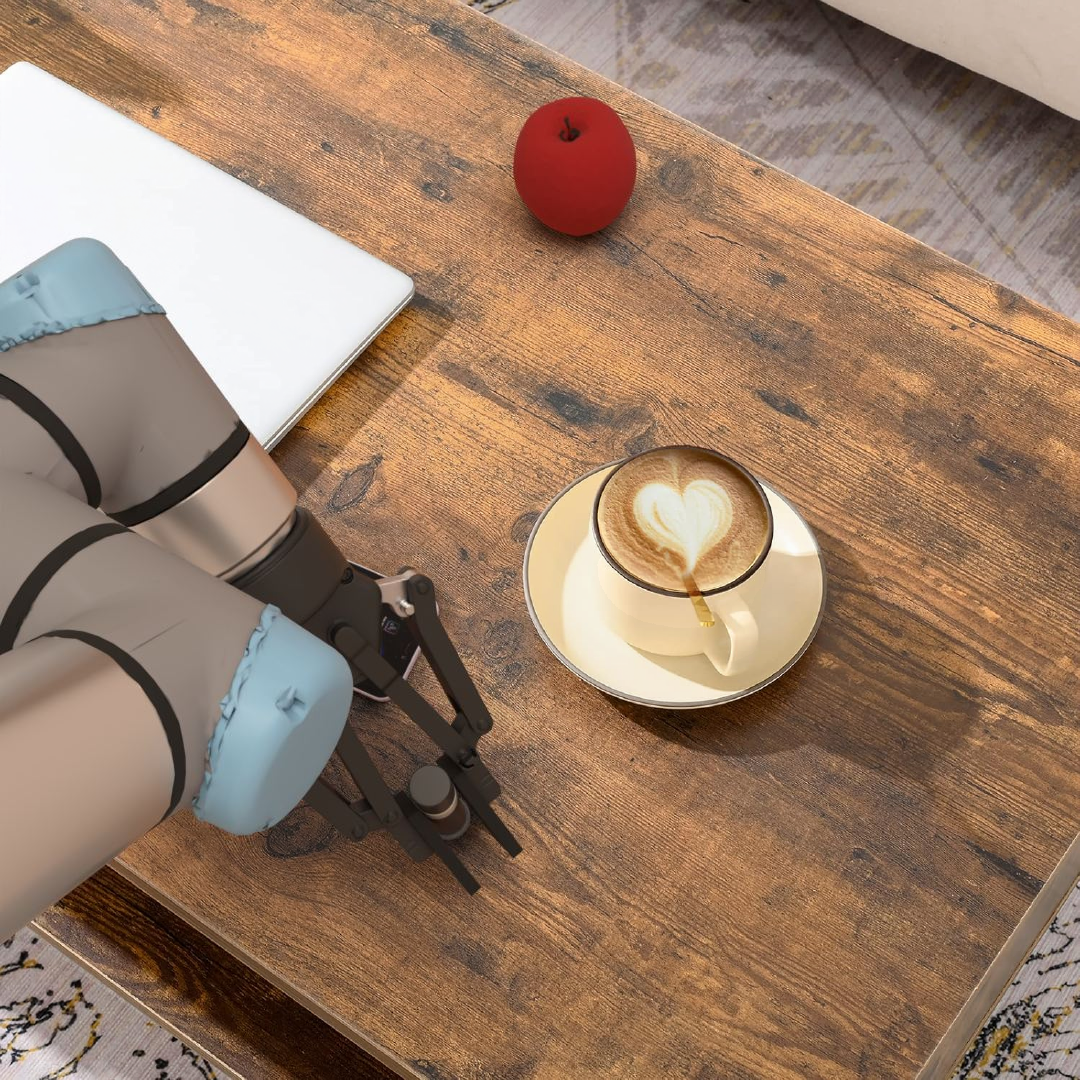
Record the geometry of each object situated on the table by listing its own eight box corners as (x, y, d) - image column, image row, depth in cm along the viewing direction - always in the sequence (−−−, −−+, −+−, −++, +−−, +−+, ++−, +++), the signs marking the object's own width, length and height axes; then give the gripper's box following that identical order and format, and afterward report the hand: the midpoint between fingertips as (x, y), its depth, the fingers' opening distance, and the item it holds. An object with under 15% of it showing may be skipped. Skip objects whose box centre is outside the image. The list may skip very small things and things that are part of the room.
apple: (655, 232, 86) (664, 136, 77) (542, 272, 85) (538, 179, 76) (607, 142, 89) (610, 40, 80) (497, 179, 88) (488, 80, 79)
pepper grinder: (445, 849, 69) (425, 820, 60) (418, 816, 70) (394, 783, 60) (479, 820, 69) (464, 787, 60) (452, 787, 70) (433, 750, 61)
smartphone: (243, 514, 77) (444, 600, 74) (245, 518, 78) (445, 603, 75) (184, 612, 75) (390, 705, 72) (187, 616, 75) (392, 708, 72)
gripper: (343, 440, 61) (560, 748, 71) (94, 627, 57) (360, 923, 67) (390, 462, 54) (621, 797, 64) (112, 674, 50) (403, 994, 60)
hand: (487, 861), depth 66 cm, fingers open, 2 cm apart
